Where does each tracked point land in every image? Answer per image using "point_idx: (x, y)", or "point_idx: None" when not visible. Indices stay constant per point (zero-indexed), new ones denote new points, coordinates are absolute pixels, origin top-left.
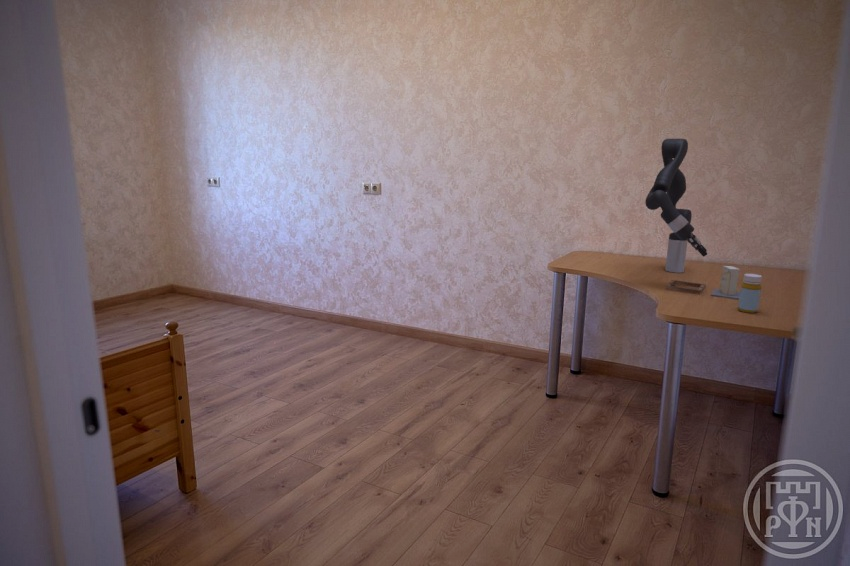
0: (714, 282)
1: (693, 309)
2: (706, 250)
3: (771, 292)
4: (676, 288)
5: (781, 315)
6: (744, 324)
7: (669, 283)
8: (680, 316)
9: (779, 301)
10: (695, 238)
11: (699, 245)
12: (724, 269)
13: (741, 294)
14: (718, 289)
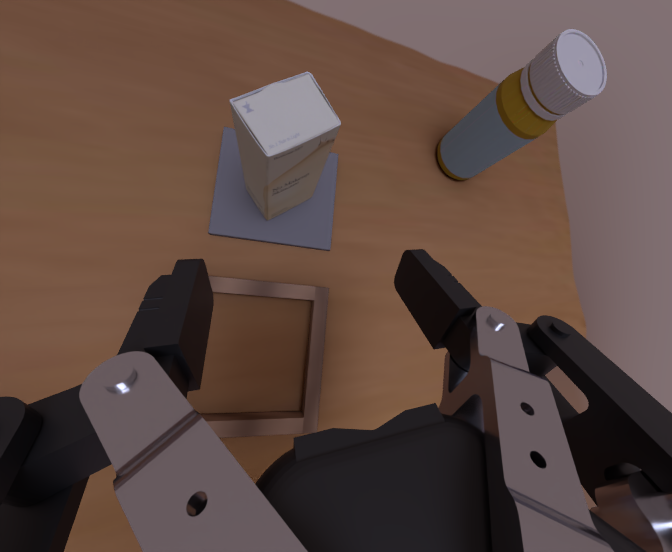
0: (4, 233)
1: (514, 293)
2: (201, 262)
3: (129, 17)
4: (320, 381)
5: (450, 84)
6: (561, 183)
7: (255, 429)
8: (581, 316)
9: (286, 38)
10: (579, 532)
11: (584, 342)
12: (285, 160)
13: (511, 152)
14: (221, 221)
